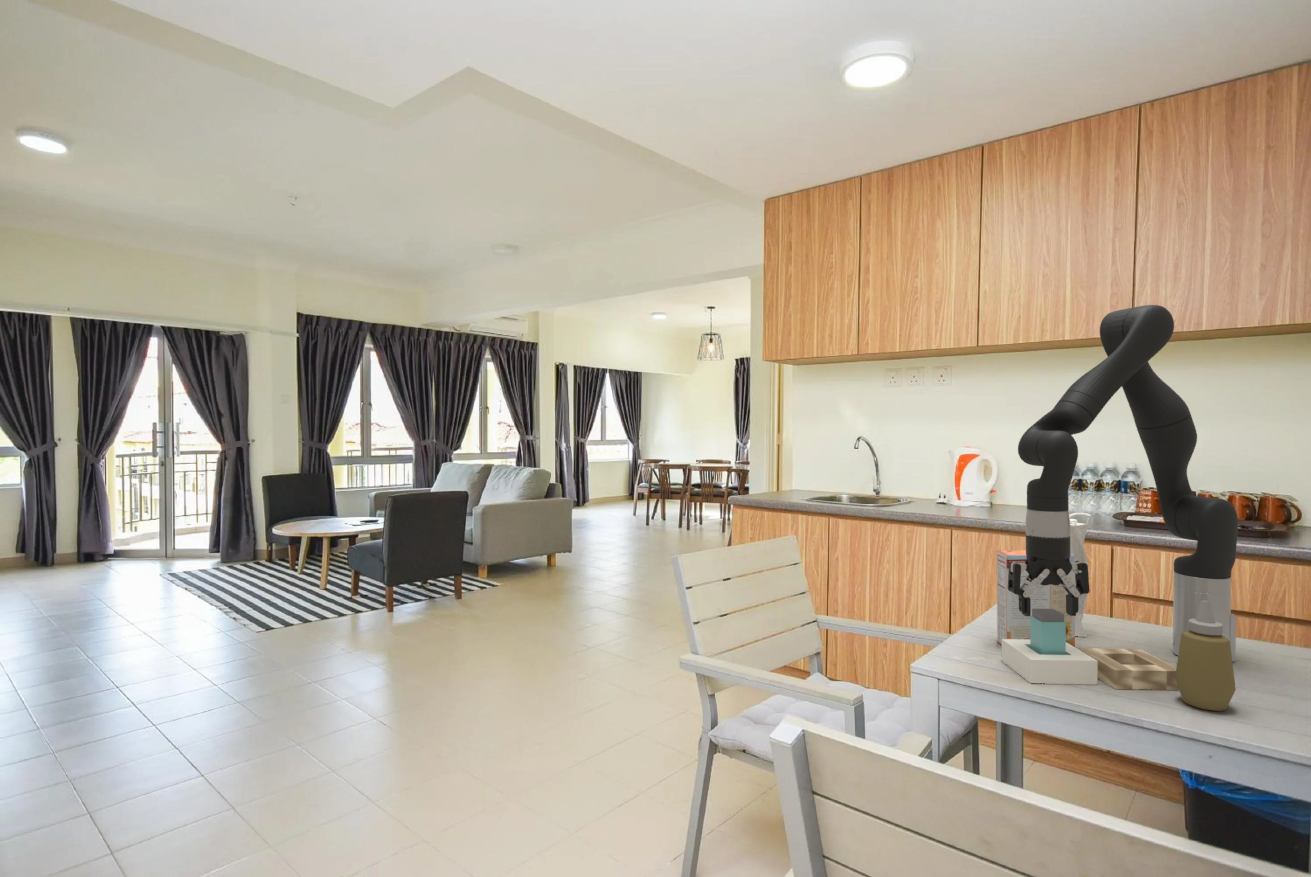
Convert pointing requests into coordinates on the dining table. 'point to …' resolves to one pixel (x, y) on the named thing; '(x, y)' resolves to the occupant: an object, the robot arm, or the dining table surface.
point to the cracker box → (1043, 597)
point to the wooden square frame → (1132, 669)
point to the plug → (1048, 632)
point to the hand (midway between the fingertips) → (1048, 615)
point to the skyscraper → (1079, 555)
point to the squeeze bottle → (1205, 663)
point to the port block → (1049, 664)
